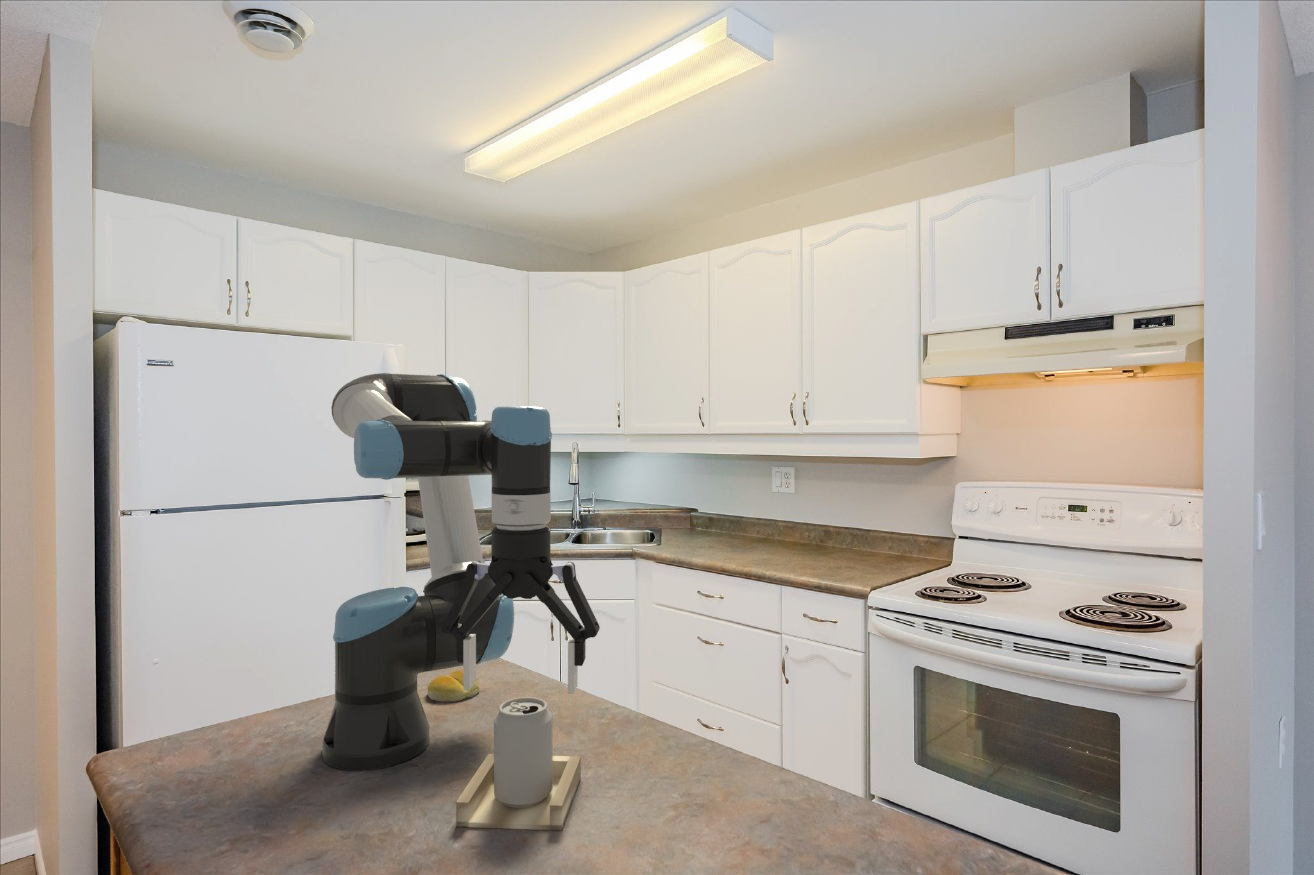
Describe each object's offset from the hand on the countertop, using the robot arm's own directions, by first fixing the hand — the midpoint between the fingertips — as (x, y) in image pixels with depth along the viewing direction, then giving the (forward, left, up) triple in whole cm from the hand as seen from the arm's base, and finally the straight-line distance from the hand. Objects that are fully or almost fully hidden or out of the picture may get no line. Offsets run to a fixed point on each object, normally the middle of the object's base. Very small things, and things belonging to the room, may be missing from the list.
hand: (520, 688), depth 93 cm
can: (0, 0, -14) cm, 14 cm away
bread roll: (-22, +37, -15) cm, 45 cm away
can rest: (0, 0, -15) cm, 15 cm away
